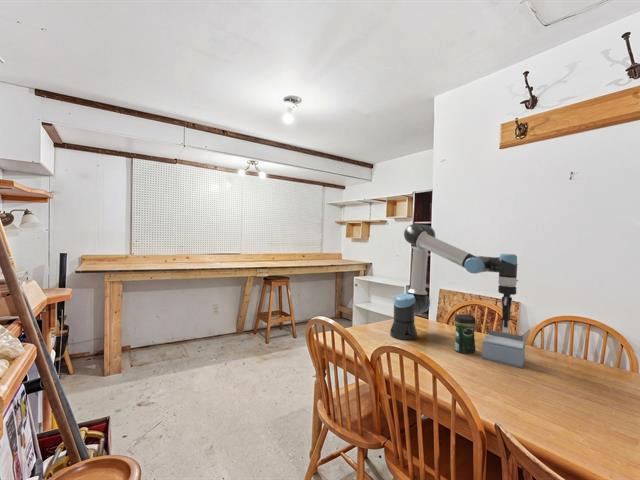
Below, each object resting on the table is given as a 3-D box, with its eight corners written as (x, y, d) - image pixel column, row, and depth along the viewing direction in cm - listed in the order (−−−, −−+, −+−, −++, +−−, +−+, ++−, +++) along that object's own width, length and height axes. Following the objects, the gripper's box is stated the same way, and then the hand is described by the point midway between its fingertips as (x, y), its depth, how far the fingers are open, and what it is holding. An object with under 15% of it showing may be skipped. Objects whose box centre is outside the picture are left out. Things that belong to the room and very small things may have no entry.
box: (481, 358, 146) (482, 342, 145) (486, 351, 155) (487, 335, 155) (522, 368, 136) (522, 350, 136) (524, 360, 145) (525, 343, 145)
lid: (483, 341, 146) (483, 335, 146) (487, 335, 155) (487, 329, 155) (522, 349, 136) (522, 342, 136) (524, 342, 145) (524, 336, 145)
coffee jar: (469, 348, 159) (471, 312, 159) (477, 354, 151) (478, 316, 151) (451, 348, 159) (452, 312, 159) (458, 353, 151) (459, 316, 151)
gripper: (514, 288, 143) (513, 338, 143) (517, 284, 153) (516, 331, 153) (496, 286, 147) (494, 334, 148) (500, 283, 157) (499, 328, 158)
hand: (505, 333), depth 150 cm, fingers closed
